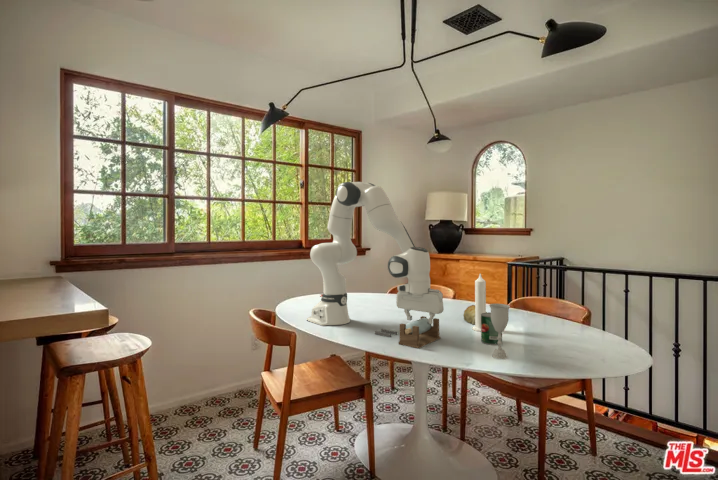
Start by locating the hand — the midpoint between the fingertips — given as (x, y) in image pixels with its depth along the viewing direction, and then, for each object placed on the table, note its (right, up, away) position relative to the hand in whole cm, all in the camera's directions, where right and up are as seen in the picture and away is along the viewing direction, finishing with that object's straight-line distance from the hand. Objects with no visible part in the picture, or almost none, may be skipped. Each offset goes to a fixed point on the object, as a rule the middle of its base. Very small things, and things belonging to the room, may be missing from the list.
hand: (419, 321), depth 159 cm
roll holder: (0, -8, 0) cm, 8 cm away
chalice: (+25, -8, -20) cm, 33 cm away
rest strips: (-13, -8, +11) cm, 19 cm away
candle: (+29, -7, +16) cm, 34 cm away
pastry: (+32, -7, +30) cm, 45 cm away
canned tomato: (+28, -8, -3) cm, 29 cm away
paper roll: (-1, -2, 0) cm, 2 cm away
